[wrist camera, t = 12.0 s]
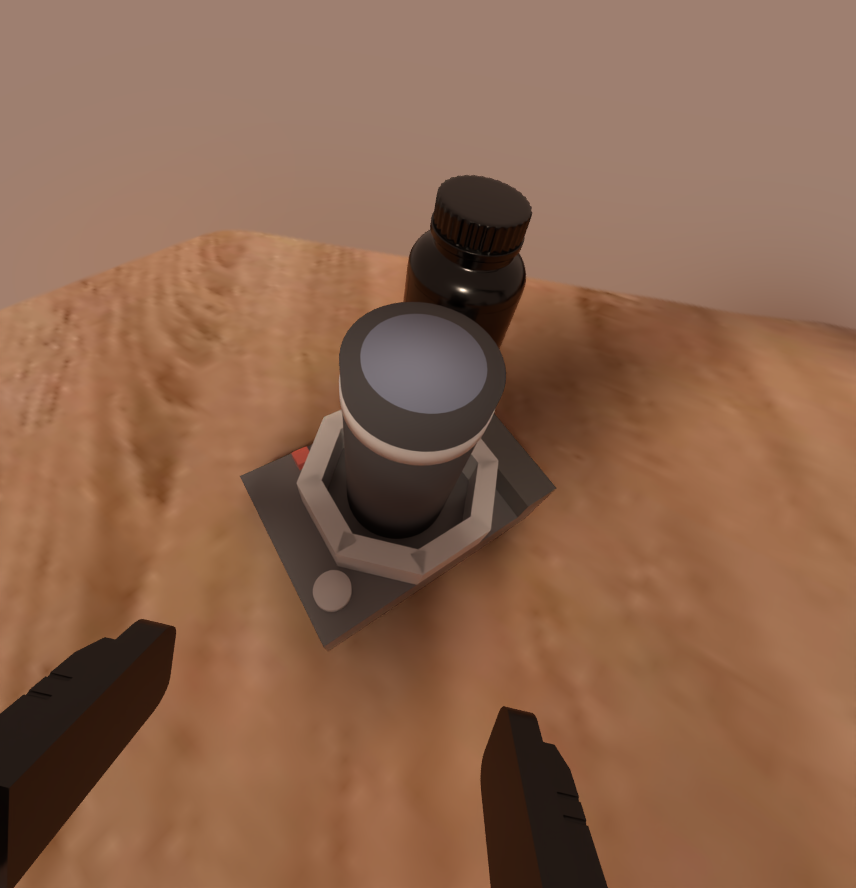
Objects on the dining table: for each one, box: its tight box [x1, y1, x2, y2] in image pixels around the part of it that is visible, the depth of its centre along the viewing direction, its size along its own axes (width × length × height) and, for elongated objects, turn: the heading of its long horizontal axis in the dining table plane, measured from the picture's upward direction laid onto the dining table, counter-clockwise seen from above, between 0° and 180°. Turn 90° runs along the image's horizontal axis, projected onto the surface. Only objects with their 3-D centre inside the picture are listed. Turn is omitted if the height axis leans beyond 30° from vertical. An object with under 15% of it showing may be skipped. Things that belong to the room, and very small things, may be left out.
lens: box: [339, 302, 506, 539], centre depth 16 cm, size 5×5×10 cm
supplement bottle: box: [403, 175, 532, 349], centre depth 24 cm, size 7×7×12 cm
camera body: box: [240, 410, 556, 651], centre depth 21 cm, size 13×9×5 cm
